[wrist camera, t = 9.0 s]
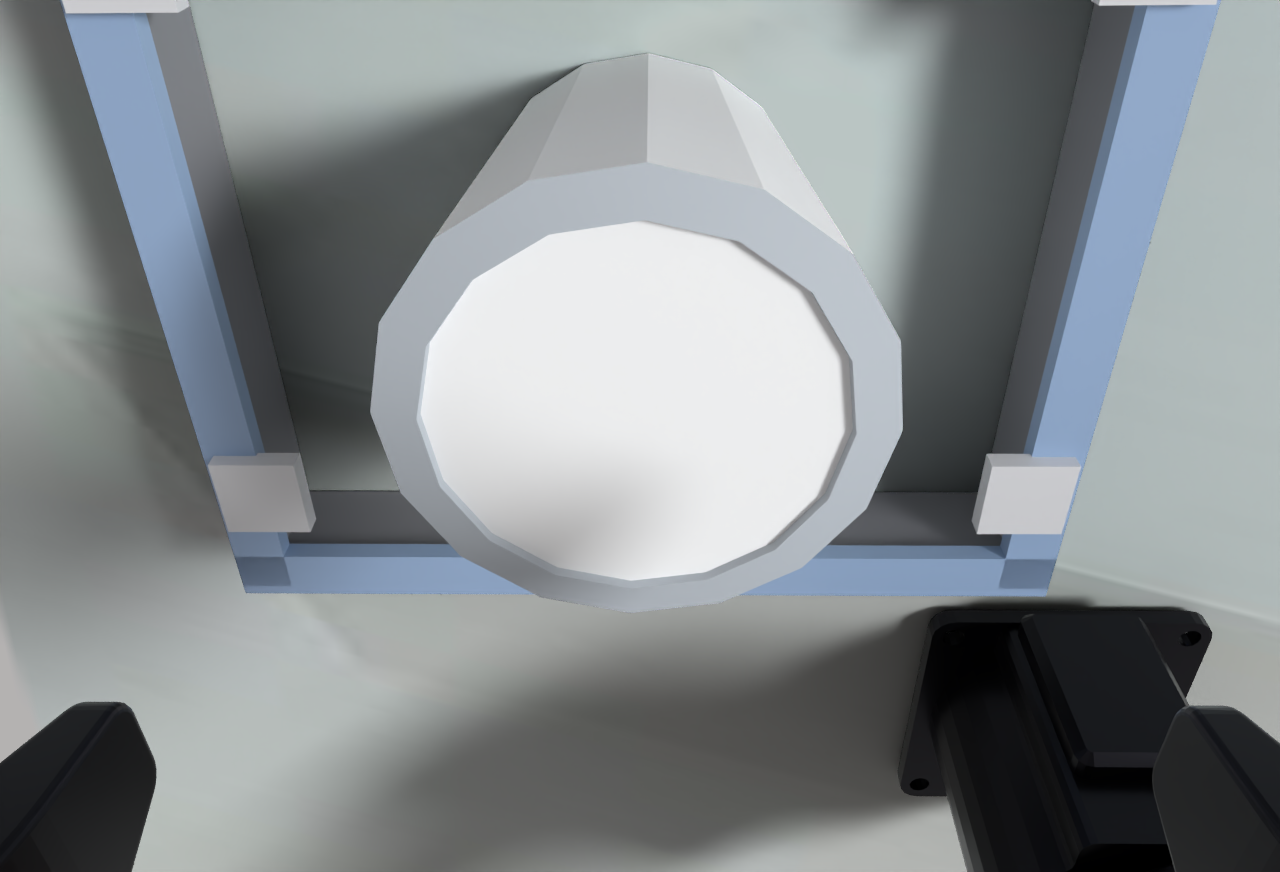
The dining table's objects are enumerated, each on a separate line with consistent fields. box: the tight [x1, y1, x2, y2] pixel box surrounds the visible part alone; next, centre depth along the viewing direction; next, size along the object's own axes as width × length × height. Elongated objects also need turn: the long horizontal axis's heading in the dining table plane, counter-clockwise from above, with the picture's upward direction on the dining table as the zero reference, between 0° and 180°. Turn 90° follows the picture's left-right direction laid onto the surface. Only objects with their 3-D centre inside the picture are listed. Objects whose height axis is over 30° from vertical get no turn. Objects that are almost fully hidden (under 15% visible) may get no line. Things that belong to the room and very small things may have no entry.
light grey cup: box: [370, 53, 903, 613], centre depth 16 cm, size 7×7×7 cm
